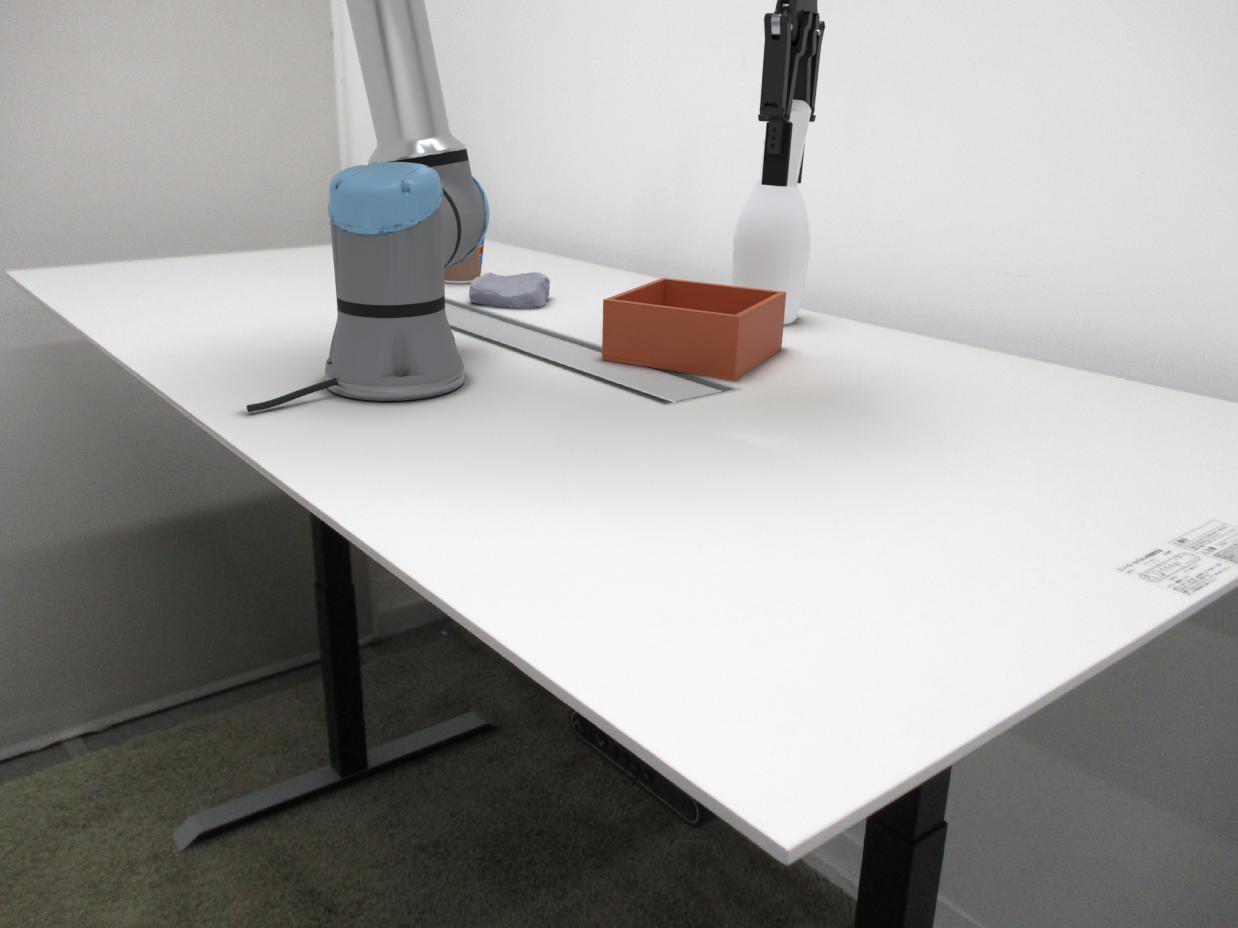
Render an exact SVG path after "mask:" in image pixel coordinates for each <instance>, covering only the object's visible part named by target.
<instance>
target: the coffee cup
mask: <svg viewBox="0 0 1238 928" xmlns="http://www.w3.org/2000/svg"><path fill="white" fill-rule="evenodd" d="M485 237H486V235H485V236H484V238H483V240H482V242H481V243H480V245H479V246H478V247H477V248H476V249H475V250H474V252H473V253H472V254H471V255H470V256H469V257H467V258H466V259H465V260H464V261H462V262H460V263H458V264H456V265H454V266H451V267H447V268H445V269H444V284H445V283H446V284H461V285H462V284H471V283H472V281H473V280H474V279H475V278H476V277H481V274H482V266H483V258H484V247H485Z"/></svg>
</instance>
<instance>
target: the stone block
mask: <svg viewBox="0 0 1238 928" xmlns="http://www.w3.org/2000/svg"><path fill="white" fill-rule="evenodd" d="M550 284H551V282H550V278H549V277H548V276H547V275H546V274H543V273H542V272H539V271H534V272H525V273H517V274H515V275H514V274H513V275H511V274H509V275H500V274H495V273H493V272H487V273H486V272H485V273H484V274H483V275H480V277H476V278H475V279H474V280H473V281H472V283H469V290H468V295H469V296H468V297H469V302H471V303H474V304H477V305H478V304H479V305H486V306H487V305H488V306H494V307H502V308H513V309H521V310H525V309H536V308H540V307H544V306H546V305H547V304H546V303H547V301H548V299H549V296H550Z"/></svg>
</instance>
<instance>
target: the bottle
mask: <svg viewBox="0 0 1238 928" xmlns="http://www.w3.org/2000/svg"><path fill="white" fill-rule="evenodd" d="M762 144H763V148H764V147H765V138H763V140H762ZM763 159H764V149H763V150H762V160H761V167H760V175H759V176H758V178H757V180H756V182H754V184H753V186H752V188H751V190H749V192H748V194H747V195H746V197H745V199H744V202H743V205H742V206H741V210H740V213H739V215H738V218H737V221H736V225H735V230H734V235H733V239H732V271H731V272H732V275H731V277H732V280H731V281H732V286H739V287H748V288H756V289H765V290H774V291H782V292H786V302H785V314H784V326H785V325H790V324H793V322H795V321H796V319H797V318H798V315H799V310H800V307H801V302H802V299H803V294H804V290H805V286H806V280H807V273H808V272H807V271H808V265H809V259H810V251H811V235H810V232H811V231H810V222H809V216H808V212H807V207H806V203H805V200H804V198H803V196H802V194H801V191H800V189H799V187H798V185H797V186H796V187H778V186H771V185H761V183H762V171H763Z"/></svg>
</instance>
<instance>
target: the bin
mask: <svg viewBox="0 0 1238 928" xmlns="http://www.w3.org/2000/svg"><path fill="white" fill-rule="evenodd" d="M785 302H786V292H782V291H774V290H765V289H756V288H748V287H739V286H733V285H728V284H720V283H711V282H704V281H695V280H686V279H676V278H670V277H669V278H668V277H661V278H659V279H655V280H653V281H651V282H647V283H645V284H642V285H639V286H637V287H634V288H631V289H629V290H626V291H623V292H620V293H618V294H615V295H612V296H610V297H607V298H603V299H602V335H601V337H602V339H601V340H602V342H601V343H602V346H601V360H602V361H607V362H613V363H620V364H626V365H633V366H637V367H639V366H640V367H646V368H650V369H651V368H652V369H659V370H664V371H671V372H678V373H684V374H690V375H696V376H704V377H710V378H716V379H723V380H727V381H737V380H738V379H739V378H741V377H742V376H743V375H745V374H747V373H748V372H749V371H751V370H752V369H754V368H756V367H757V366H758V365H760V364H762V363H763V362H765V361H766V360H768V359H769V358H770V357H772V356H773V355H775V354H777V353H778V352H780V351H781V350H782V347H783V338H784V337H783V336H784V326H785V325H784V314H785Z"/></svg>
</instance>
